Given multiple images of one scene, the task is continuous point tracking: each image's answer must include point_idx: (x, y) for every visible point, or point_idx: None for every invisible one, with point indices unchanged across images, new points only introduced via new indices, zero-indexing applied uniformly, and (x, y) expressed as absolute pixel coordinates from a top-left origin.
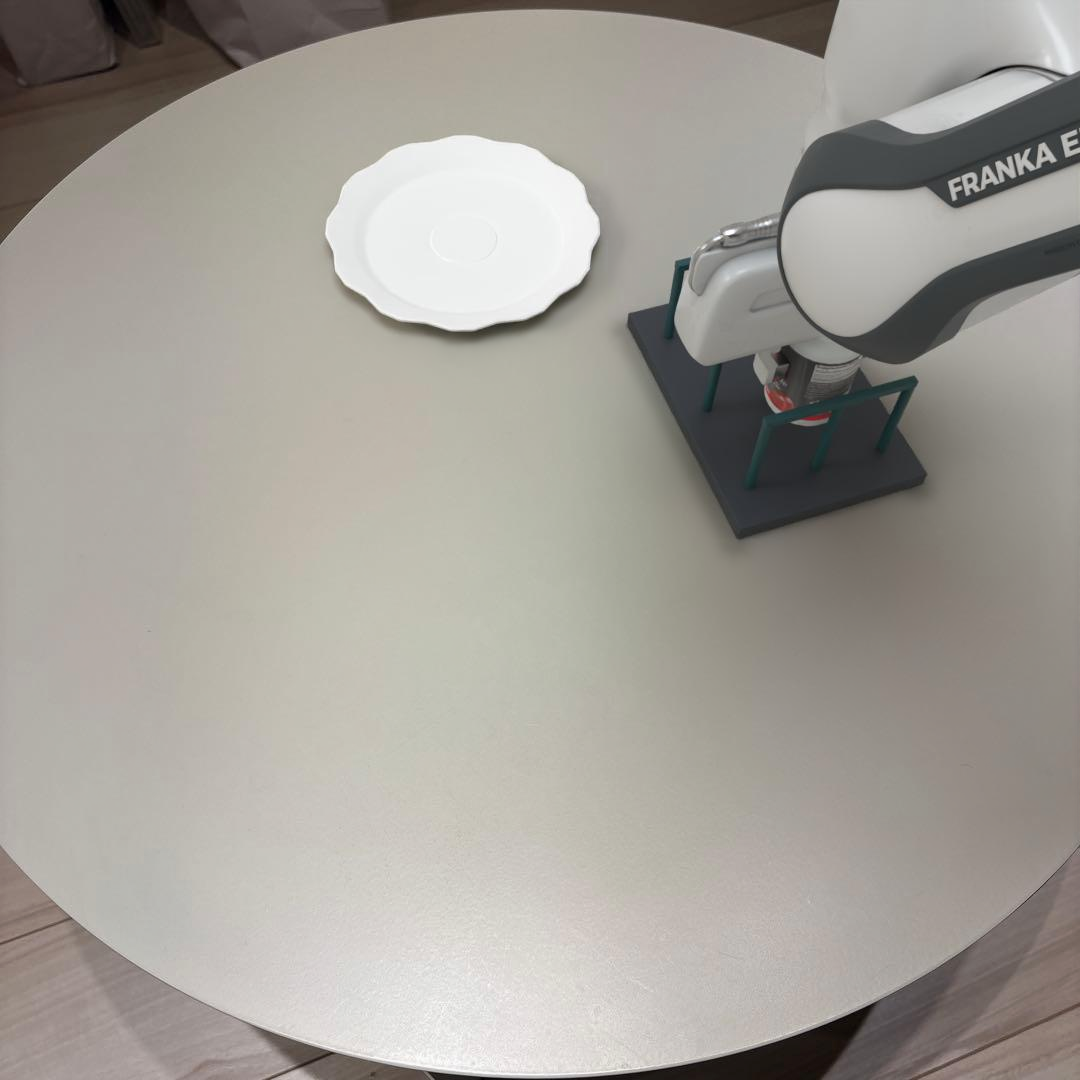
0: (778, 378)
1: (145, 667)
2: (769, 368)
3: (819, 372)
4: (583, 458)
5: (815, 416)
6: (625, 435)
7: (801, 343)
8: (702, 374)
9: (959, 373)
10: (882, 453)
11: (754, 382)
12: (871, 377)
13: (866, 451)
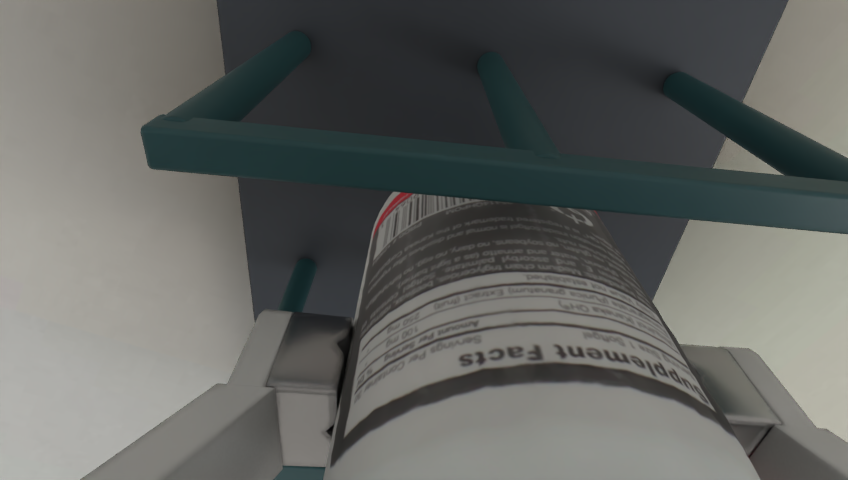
0: (710, 358)
1: None
2: (822, 433)
3: (674, 355)
4: (842, 279)
5: None
6: (739, 291)
7: None
8: None
9: (19, 166)
10: (303, 25)
11: None
12: (224, 228)
13: (341, 51)
